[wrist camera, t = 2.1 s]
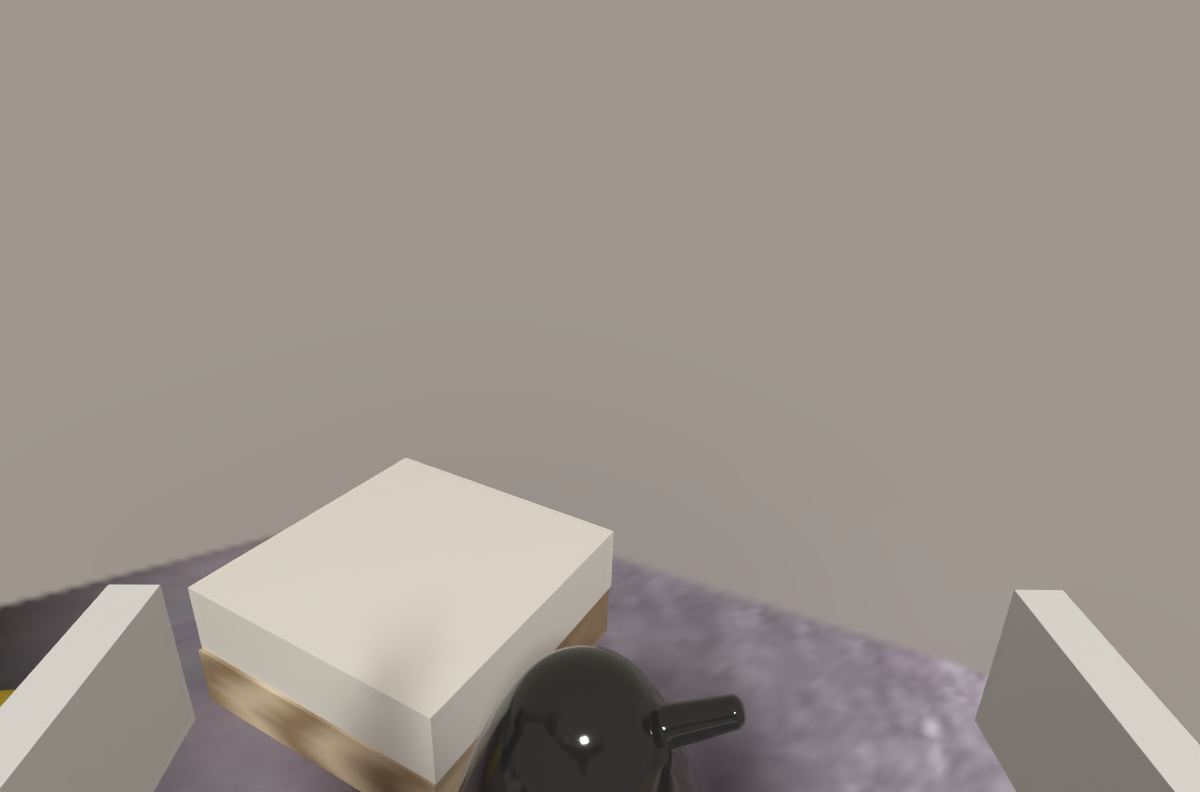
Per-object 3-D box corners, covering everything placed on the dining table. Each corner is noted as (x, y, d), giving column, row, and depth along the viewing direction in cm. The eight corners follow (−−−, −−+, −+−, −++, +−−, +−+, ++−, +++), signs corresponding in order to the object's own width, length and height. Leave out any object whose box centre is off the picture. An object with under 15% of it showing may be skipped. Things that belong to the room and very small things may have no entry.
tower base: (212, 705, 42) (198, 650, 41) (410, 555, 55) (406, 508, 54) (439, 846, 36) (434, 786, 34) (606, 637, 48) (608, 586, 47)
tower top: (202, 647, 41) (187, 587, 39) (409, 507, 54) (406, 457, 52) (435, 784, 34) (430, 718, 32) (611, 586, 47) (613, 531, 45)
